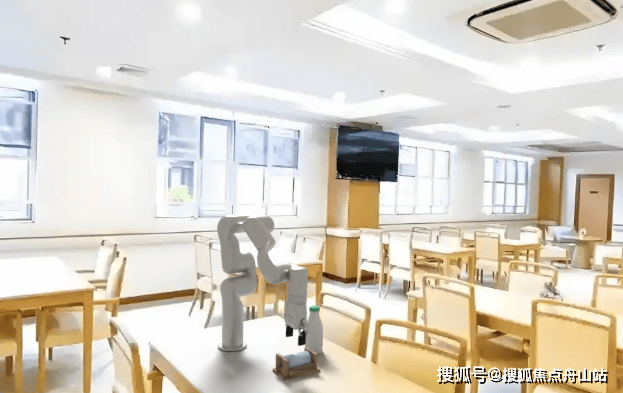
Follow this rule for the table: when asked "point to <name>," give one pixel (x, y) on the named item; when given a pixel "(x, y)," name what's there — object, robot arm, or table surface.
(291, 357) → the cylinder
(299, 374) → the holder
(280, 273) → the robot arm
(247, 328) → the table surface
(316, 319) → the milk bottle
